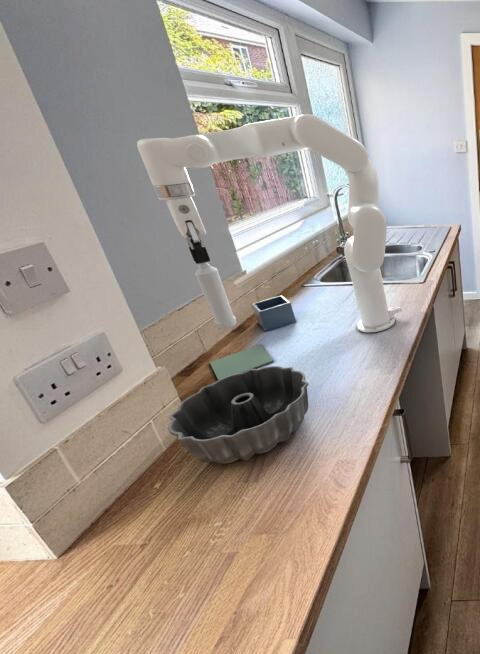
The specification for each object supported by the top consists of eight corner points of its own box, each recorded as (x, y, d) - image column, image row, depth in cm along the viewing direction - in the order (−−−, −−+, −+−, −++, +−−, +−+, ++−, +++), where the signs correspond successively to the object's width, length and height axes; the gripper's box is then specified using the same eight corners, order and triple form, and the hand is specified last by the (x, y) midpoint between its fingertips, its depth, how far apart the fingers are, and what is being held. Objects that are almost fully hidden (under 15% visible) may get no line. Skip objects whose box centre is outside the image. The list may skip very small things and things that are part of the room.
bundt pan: (294, 384, 110) (284, 353, 106) (336, 428, 93) (326, 393, 89) (176, 436, 93) (158, 401, 89) (200, 502, 76) (180, 463, 72)
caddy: (287, 313, 153) (281, 295, 150) (296, 321, 146) (290, 302, 143) (258, 322, 147) (251, 303, 143) (265, 331, 140) (258, 311, 137)
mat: (260, 345, 131) (260, 344, 131) (273, 361, 121) (273, 360, 121) (209, 363, 122) (209, 362, 122) (219, 382, 113) (218, 380, 113)
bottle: (222, 321, 119) (190, 239, 108) (240, 320, 119) (210, 237, 109) (212, 329, 114) (177, 244, 104) (231, 328, 114) (198, 243, 104)
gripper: (198, 191, 98) (224, 263, 105) (188, 186, 108) (213, 252, 116) (159, 196, 93) (190, 271, 101) (153, 190, 104) (181, 258, 111)
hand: (202, 260), depth 108 cm, fingers closed on bottle, 2 cm apart
